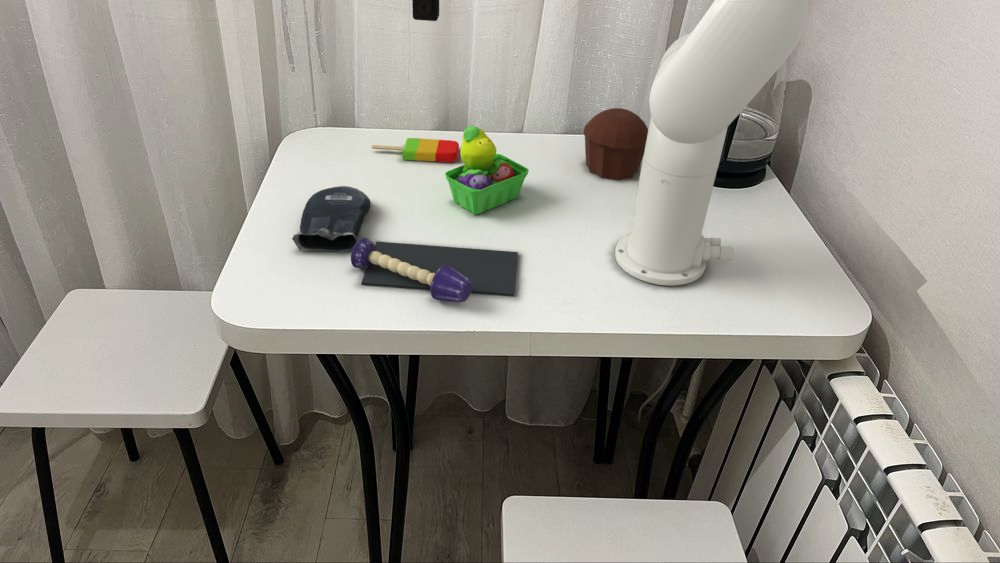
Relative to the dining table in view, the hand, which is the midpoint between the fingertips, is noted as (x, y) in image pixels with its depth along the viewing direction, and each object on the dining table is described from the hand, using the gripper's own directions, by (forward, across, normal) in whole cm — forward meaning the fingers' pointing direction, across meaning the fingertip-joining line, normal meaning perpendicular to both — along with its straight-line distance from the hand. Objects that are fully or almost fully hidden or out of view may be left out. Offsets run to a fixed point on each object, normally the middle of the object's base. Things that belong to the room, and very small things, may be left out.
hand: (426, 18), depth 95 cm
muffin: (+29, +20, -29) cm, 46 cm away
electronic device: (+29, -5, +13) cm, 32 cm away
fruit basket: (+29, +6, -8) cm, 31 cm away
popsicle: (+29, +20, +5) cm, 36 cm away
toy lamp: (+27, -15, +7) cm, 31 cm away
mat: (+29, -14, -4) cm, 33 cm away
